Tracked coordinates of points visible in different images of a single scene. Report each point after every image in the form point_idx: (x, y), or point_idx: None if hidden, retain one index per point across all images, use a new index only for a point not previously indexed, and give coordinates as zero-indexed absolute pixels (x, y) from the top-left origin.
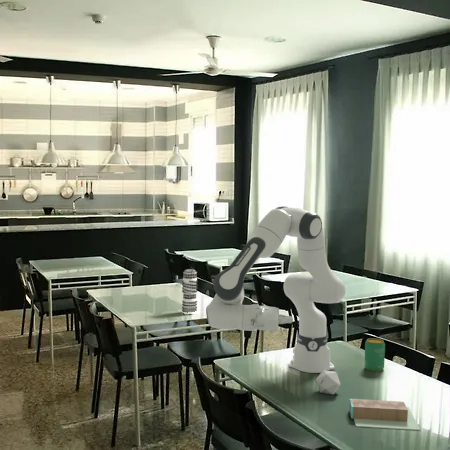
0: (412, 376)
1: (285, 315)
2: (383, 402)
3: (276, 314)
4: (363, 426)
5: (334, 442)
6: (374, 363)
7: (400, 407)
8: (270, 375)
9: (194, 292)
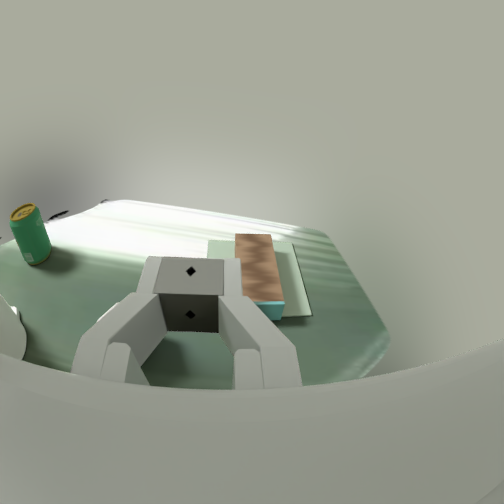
0: (83, 220)
1: (118, 304)
2: (246, 256)
3: (227, 420)
4: (308, 304)
5: (386, 346)
6: (44, 244)
7: (263, 240)
8: None
9: None
